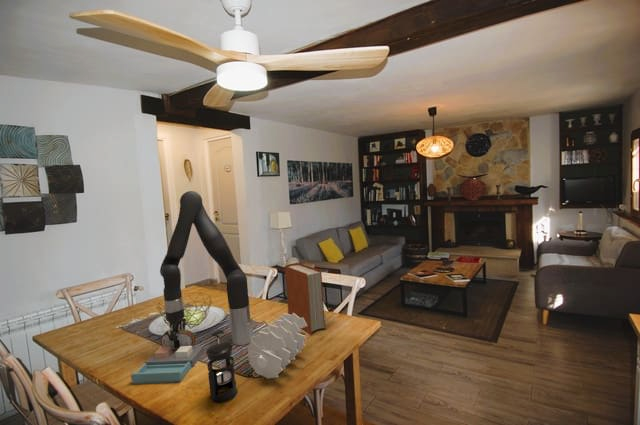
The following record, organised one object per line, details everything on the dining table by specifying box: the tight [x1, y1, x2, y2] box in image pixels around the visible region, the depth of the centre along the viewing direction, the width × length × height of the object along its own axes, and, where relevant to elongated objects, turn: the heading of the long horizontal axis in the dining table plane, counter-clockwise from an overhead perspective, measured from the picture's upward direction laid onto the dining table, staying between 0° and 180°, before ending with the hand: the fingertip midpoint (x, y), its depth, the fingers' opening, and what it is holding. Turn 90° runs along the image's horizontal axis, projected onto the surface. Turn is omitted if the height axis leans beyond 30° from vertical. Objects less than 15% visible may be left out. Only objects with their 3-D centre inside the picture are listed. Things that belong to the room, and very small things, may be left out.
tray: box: [130, 362, 193, 385], centre depth 133 cm, size 19×10×4 cm, turn 88°
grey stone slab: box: [144, 345, 205, 368], centre depth 144 cm, size 20×12×3 cm, turn 88°
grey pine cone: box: [246, 312, 307, 380], centre depth 134 cm, size 18×18×25 cm
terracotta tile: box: [154, 346, 172, 359], centre depth 143 cm, size 5×5×2 cm
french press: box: [205, 330, 238, 404], centre depth 117 cm, size 12×9×23 cm
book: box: [284, 262, 326, 336], centre depth 169 cm, size 23×8×30 cm, turn 34°
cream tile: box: [175, 346, 193, 358], centre depth 143 cm, size 5×5×2 cm
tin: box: [160, 329, 197, 350], centre depth 147 cm, size 15×3×8 cm, turn 87°
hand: (178, 345), depth 147 cm, fingers open, 2 cm apart
